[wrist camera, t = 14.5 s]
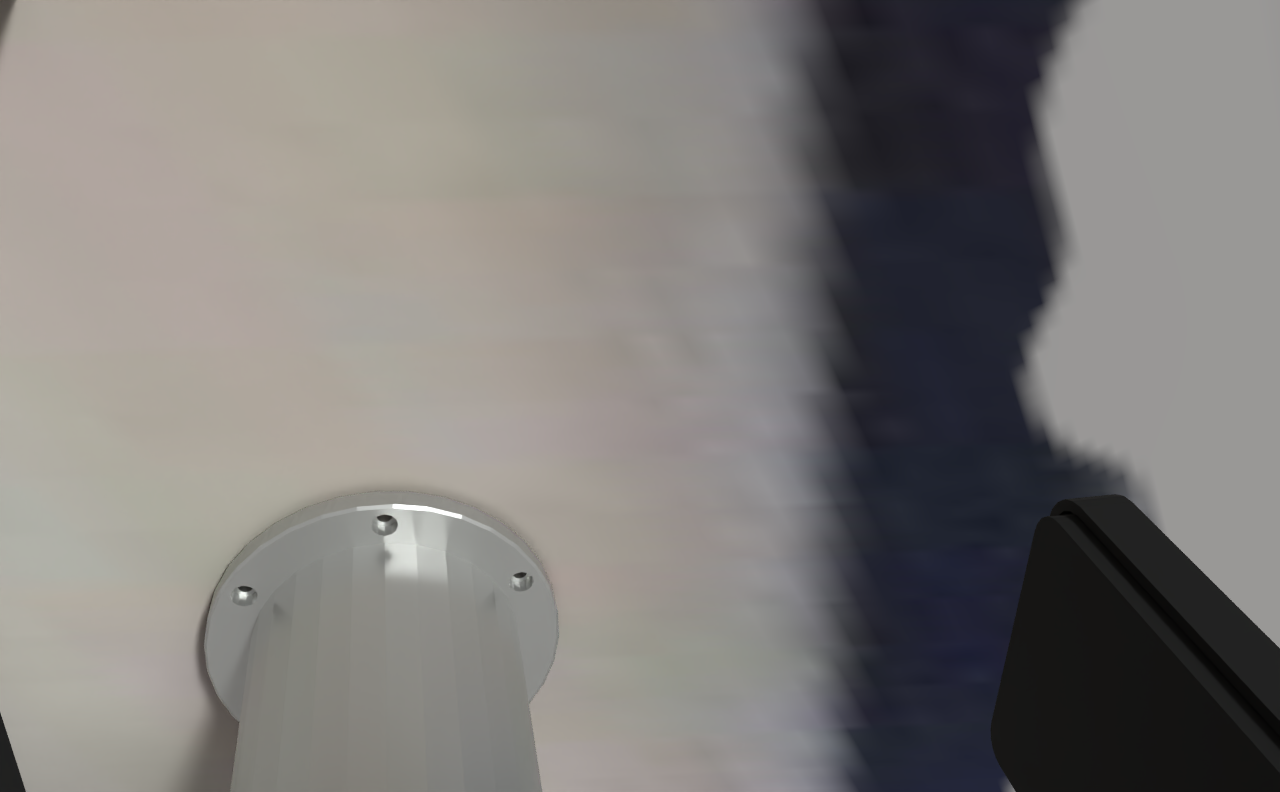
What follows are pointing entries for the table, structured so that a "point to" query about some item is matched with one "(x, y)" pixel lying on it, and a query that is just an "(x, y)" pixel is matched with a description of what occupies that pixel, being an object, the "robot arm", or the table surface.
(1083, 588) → the robot arm
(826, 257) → the table surface
